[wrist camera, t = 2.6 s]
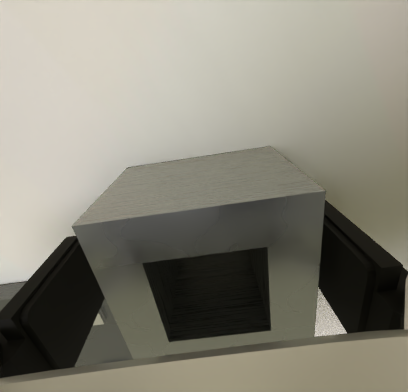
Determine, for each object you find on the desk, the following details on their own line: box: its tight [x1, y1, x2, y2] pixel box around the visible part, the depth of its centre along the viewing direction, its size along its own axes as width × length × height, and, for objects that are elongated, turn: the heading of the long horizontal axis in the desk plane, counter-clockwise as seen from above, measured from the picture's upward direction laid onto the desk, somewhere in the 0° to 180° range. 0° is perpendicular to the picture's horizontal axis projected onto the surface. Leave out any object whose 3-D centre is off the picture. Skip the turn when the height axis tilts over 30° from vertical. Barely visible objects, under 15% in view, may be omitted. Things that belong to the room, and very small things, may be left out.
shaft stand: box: [0, 282, 133, 367], centre depth 13 cm, size 12×9×6 cm
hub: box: [72, 146, 326, 359], centre depth 10 cm, size 7×7×5 cm
